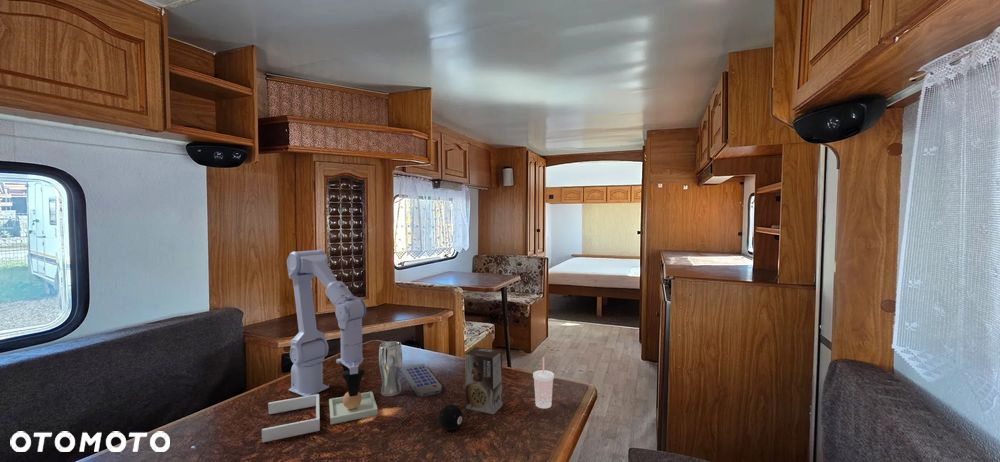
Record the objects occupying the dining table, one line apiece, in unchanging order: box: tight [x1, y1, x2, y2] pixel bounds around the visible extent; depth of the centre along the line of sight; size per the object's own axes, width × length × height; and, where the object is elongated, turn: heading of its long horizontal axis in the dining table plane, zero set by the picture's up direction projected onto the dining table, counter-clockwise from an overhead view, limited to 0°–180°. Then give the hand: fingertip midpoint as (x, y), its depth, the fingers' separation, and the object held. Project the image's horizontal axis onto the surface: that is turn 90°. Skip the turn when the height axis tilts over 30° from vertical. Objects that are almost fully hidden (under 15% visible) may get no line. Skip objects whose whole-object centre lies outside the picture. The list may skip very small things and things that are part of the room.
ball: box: [342, 391, 362, 409], centre depth 113 cm, size 5×5×5 cm
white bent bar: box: [261, 393, 321, 444], centre depth 107 cm, size 13×16×3 cm
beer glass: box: [378, 340, 403, 398], centre depth 124 cm, size 7×7×15 cm
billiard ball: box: [438, 404, 464, 431], centre depth 103 cm, size 6×6×6 cm
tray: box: [328, 390, 379, 425], centre depth 113 cm, size 12×12×2 cm
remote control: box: [401, 363, 443, 397], centre depth 133 cm, size 8×23×2 cm, turn 26°
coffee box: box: [464, 346, 503, 415], centre depth 115 cm, size 9×6×16 cm
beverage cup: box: [532, 356, 555, 409], centre depth 116 cm, size 6×6×14 cm
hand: (352, 389), depth 113 cm, fingers open, 7 cm apart
